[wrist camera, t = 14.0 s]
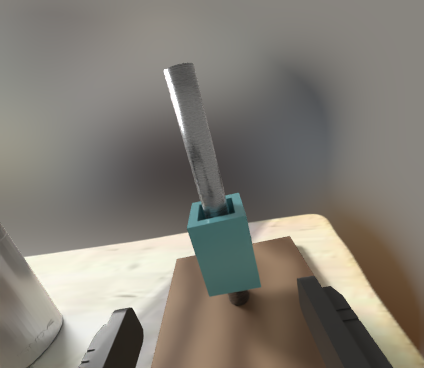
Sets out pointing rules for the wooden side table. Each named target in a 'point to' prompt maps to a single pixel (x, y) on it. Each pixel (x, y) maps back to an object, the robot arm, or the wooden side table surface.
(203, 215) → the sleeve
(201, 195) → the pipe
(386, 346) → the wooden side table surface
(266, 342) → the stand board
